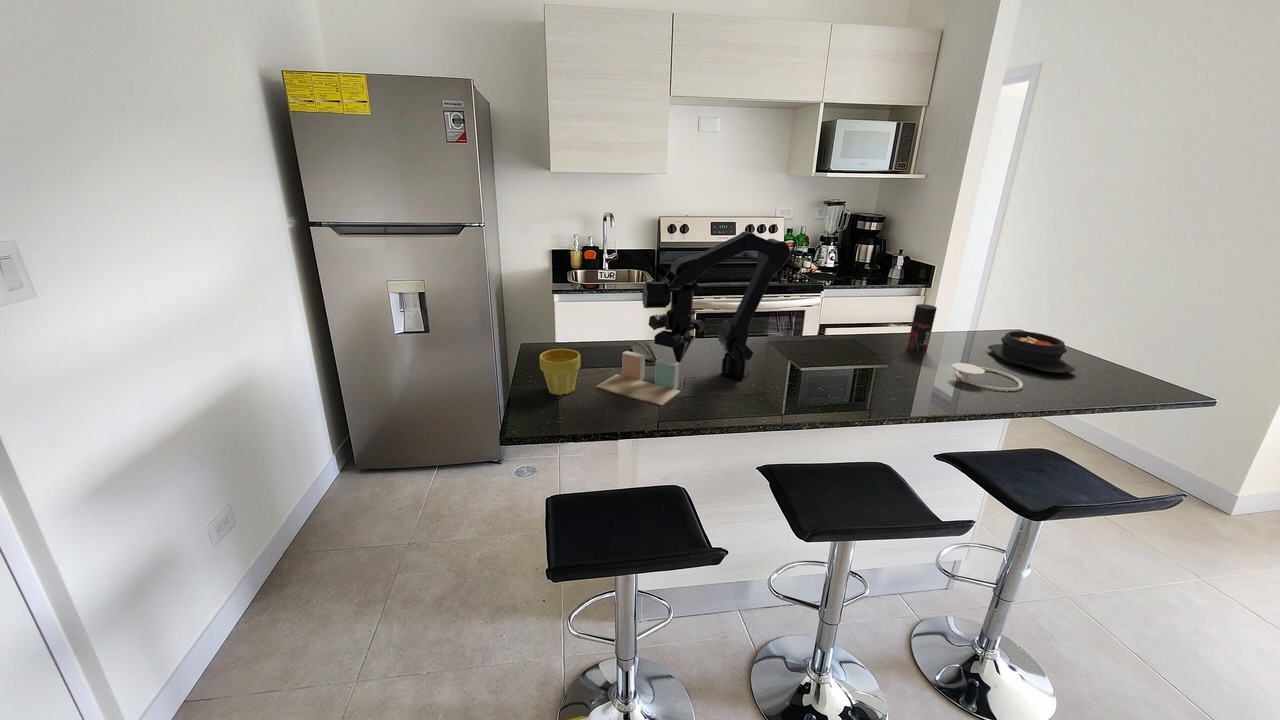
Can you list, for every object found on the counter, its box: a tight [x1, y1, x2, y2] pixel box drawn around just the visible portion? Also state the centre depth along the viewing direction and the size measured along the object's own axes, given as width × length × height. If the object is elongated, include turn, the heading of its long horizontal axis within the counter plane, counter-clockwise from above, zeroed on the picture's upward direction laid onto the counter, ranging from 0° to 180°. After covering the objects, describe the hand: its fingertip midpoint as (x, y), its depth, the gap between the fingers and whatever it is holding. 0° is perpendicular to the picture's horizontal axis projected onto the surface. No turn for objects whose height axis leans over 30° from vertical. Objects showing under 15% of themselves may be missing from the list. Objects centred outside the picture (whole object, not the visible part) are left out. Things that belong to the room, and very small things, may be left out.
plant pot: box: [539, 348, 581, 396], centre depth 138 cm, size 10×10×10 cm
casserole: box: [987, 330, 1076, 374], centre depth 167 cm, size 25×19×8 cm
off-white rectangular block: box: [621, 350, 646, 381], centre depth 147 cm, size 6×2×7 cm, turn 59°
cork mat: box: [595, 373, 681, 407], centre depth 141 cm, size 20×10×1 cm, turn 59°
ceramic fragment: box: [630, 340, 655, 362], centre depth 165 cm, size 14×5×4 cm, turn 24°
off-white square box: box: [654, 358, 680, 390], centre depth 143 cm, size 6×2×7 cm, turn 59°
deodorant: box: [906, 303, 938, 355], centre depth 174 cm, size 6×6×15 cm
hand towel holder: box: [951, 362, 1024, 393], centre depth 153 cm, size 17×4×20 cm
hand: (678, 361), depth 147 cm, fingers closed
